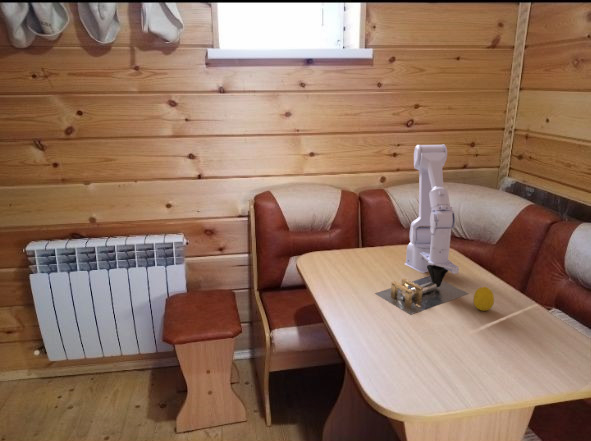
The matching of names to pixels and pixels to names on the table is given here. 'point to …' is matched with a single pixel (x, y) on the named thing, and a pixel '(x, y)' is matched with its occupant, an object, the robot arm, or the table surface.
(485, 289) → the lemon
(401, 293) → the tube
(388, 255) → the table surface
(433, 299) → the plate
